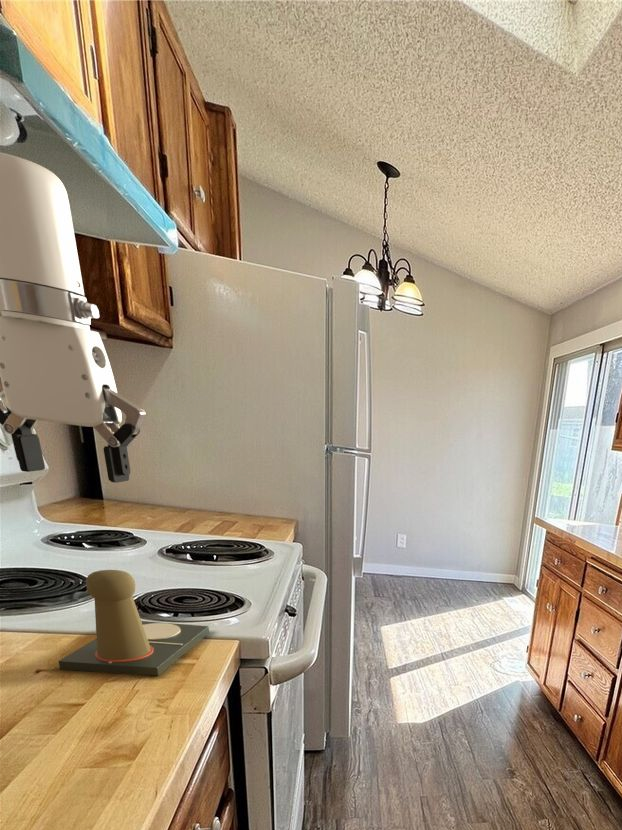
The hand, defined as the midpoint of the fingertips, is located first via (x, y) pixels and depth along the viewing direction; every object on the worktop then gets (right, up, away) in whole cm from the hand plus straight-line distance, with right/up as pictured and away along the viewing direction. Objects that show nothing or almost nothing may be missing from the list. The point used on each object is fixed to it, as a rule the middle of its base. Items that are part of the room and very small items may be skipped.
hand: (76, 475), depth 67 cm
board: (0, -20, +13) cm, 24 cm away
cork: (0, -21, +8) cm, 23 cm away
